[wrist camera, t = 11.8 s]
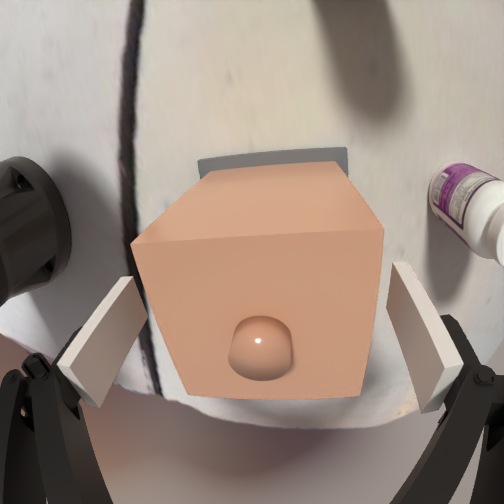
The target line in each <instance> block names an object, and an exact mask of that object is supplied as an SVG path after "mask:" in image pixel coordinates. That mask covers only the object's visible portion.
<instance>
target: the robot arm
mask: <svg viewBox="0 0 504 504" xmlns="http://www.w3.org/2000/svg"><path fill="white" fill-rule="evenodd" d="M70 250H71V233H70V226H69V221H68V216H67V213H66V209H65V206H64V204H63V201H62V199H61V196H60V194H59V192H58V190H57V188H56V186H55V185H54V183H53V182H52V180H51V179H50V177H49V176H48V175H47V173H46V172H45V171H44V170H43V169H42V168H41V167H40V166H39V165H38V164H36V163H35V162H33V161H32V160H30V159H28V158H25V157H12V158H9V159H7V160H4V161H2V162H0V307H1V306H2V305H3V304H4V303H5V302H6V301H7V300H8V299H10V298H12V297H15V296H17V295H20V294H23V293H25V292H28V291H31V290H33V289H36V288H39V287H41V286H44V285H46V284H48V283H49V282H51V281H52V280H53V279H54V278H55V277H56V276H57V275H58V274H59V273H61V272H62V270H63V269H64V268H65V266H66V264H67V262H68V259H69V256H70ZM386 309H387V311H388V314H389V317H390V319H391V322H392V325H393V327H394V330H395V333H396V335H397V338H398V341H399V344H400V347H401V350H402V352H403V355H404V358H405V361H406V364H407V367H408V370H409V374H410V377H411V380H412V383H413V386H414V390H415V393H416V396H417V400H418V403H419V407H420V410H421V414H423V413H428V412H432V411H436V410H439V408H440V407H441V405H442V403H443V402H444V404H445V406H446V411H445V413H444V414H443V416H442V417H441V419H440V420H439V422H438V423H439V424H438V426H437V428H436V431H435V432H434V434H433V436H432V438H431V440H430V441H429V444H428V445H427V447H426V449H425V451H424V452H423V454H422V455H421V457H420V459H419V461H418V462H417V464H416V465H415V467H414V469H413V470H412V472H411V473H410V475H409V476H408V478H407V480H406V481H405V483H404V484H403V485H402V487H401V488H400V490H399V491H398V493H397V494H396V495H395V497H394V498H393V500H392V501H391V502H390V504H448V503H449V501H450V500H451V498H452V496H453V494H454V492H455V491H456V488H457V487H458V485H459V483H460V481H461V479H462V477H463V474H464V473H465V471H466V468H467V466H468V464H469V462H470V460H471V457H472V455H473V453H474V450H475V448H476V445H477V443H478V441H479V438H480V435H481V433H482V430H483V427H484V434H483V441H482V449H481V455H480V460H479V466H478V471H477V475H476V480H475V485H474V488H473V492H472V496H471V500H470V504H504V375H496V374H495V372H494V371H493V370H492V369H491V368H489V367H488V366H485V365H481V364H480V362H479V360H478V358H477V356H476V354H475V352H474V350H473V348H472V346H471V344H470V343H469V341H468V339H466V338H467V337H466V335H465V333H464V332H463V330H462V328H461V326H460V325H459V323H458V321H457V320H455V319H454V318H453V317H452V316H451V315H449V314H448V315H442V316H439V314H438V312H437V311H436V309H435V307H434V305H433V304H432V302H431V300H430V298H429V297H428V295H427V293H426V291H425V290H424V288H423V286H422V285H421V283H420V281H419V280H418V278H417V276H416V275H415V273H414V272H413V270H412V268H411V267H410V265H409V264H408V262H407V261H402V262H393V263H392V271H391V279H390V286H389V293H388V300H387V306H386ZM147 318H148V315H147V313H146V310H145V308H144V305H143V302H142V300H141V297H140V295H139V292H138V289H137V286H136V284H135V281H134V278H133V276H130V277H121V278H120V279H119V280H118V282H117V283H116V284H115V285H114V287H113V288H112V289H111V290H110V292H109V293H108V294H107V296H106V297H105V298H104V299H103V301H102V302H101V303H100V305H99V306H98V307H97V309H96V310H95V311H94V313H93V314H92V315H91V317H90V318H89V319H88V321H87V322H86V323H85V325H84V326H82V327H80V328H79V329H78V330H77V331H75V332H74V333H73V335H72V336H71V338H70V339H69V341H68V342H67V343H66V344H65V347H63V349H62V350H61V352H60V353H59V354H58V356H57V357H56V359H55V360H54V362H53V363H52V365H50V364H49V363H48V361H47V360H46V358H45V357H44V355H43V354H41V353H34V354H31V355H30V356H28V357H27V358H26V359H25V360H24V362H23V363H22V367H21V368H22V369H23V371H24V372H25V373H26V375H27V376H28V377H24V376H23V374H22V373H21V372H20V371H19V370H18V369H14V370H11V371H9V372H8V373H7V374H6V375H5V376H4V378H3V380H2V383H1V387H0V504H46V497H47V501H48V504H113V502H112V500H111V498H110V495H109V492H108V490H107V487H106V485H105V482H104V479H103V477H102V474H101V471H100V469H99V466H98V463H97V460H96V457H95V454H94V451H93V448H92V444H91V441H90V437H89V434H88V431H87V427H86V423H85V419H84V415H83V412H82V408H81V406H80V404H79V403H78V402H79V400H80V398H82V399H83V401H84V402H85V403H86V404H87V405H88V406H92V407H96V408H100V407H101V405H102V403H103V401H104V399H105V397H106V395H107V393H108V391H109V389H110V387H111V385H112V383H113V381H114V379H115V377H116V375H117V373H118V371H119V370H120V368H121V366H122V364H123V362H124V360H125V358H126V356H127V354H128V353H129V351H130V349H131V347H132V345H133V343H134V341H135V340H136V338H137V336H138V334H139V332H140V330H141V329H142V327H143V325H144V323H145V321H146V320H147ZM21 408H22V409H23V411H24V412H25V416H22V415H21Z"/></svg>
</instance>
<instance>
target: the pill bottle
mask: <svg viewBox="0 0 504 504" xmlns="http://www.w3.org/2000/svg"><path fill="white" fill-rule="evenodd" d="M429 202H430V206H431V208H432V210H433V212H434V214H435V215H436V216H437V217H438V218H439V219H440V220H441V221H442V222H443V223H444V224H445V225H446V226H448V227H449V228H450V229H451V230H452V231H453V232H454V233H455V234H456V235H457V236H458V237H459V238H460V239H461V240H462V241H463V242H464V243H465V244H466V245H467V246H468V247H469V248H470V249H471V250H472V251H473V252H474V253H475V254H477V255H478V256H480V257H483V258H486V259H495V260H496V261H497V262H498V263H499V264H500V265H501V266H502V267H504V181H502V180H500V179H498V178H496V177H494V176H492V175H490V174H488V173H486V172H484V171H481V170H479V169H477V168H475V167H473V166H471V165H468V164H465V163H463V162H449V163H447V164H445V165H443V166H442V167H440V168H439V170H438V171H437V172H436V173H435V174H434V176H433V178H432V180H431V183H430V188H429Z"/></svg>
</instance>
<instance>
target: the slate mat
mask: <svg viewBox="0 0 504 504" xmlns="http://www.w3.org/2000/svg"><path fill="white" fill-rule="evenodd" d="M325 161H335V162H336V163H337V164H338V165H339V167H340V168H341V169H342V171H343V172H344V173H345V174H346V176H347V177H348V158H347V148H346V147H335V148H312V149H296V150H282V151H270V152H259V153H249V154H240V155H231V156H223V157H215V158H207V159H200V160H198V161H197V162H198V168H199V174H200V179H202V178H203V177H204V176H205V175H206V174H208V173H209V172H210V171H216V170H225V169H234V168H243V167H254V166H265V165H277V164H290V163H306V162H325Z"/></svg>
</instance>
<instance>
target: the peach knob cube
mask: <svg viewBox="0 0 504 504" xmlns="http://www.w3.org/2000/svg"><path fill="white" fill-rule="evenodd" d="M383 239H384V228H383V226H382V225H381V223H380V222H379V220H378V219H377V217H376V216H375V214H374V213H373V212H372V210H371V209H370V207H369V206H368V204H367V203H366V202H365V200H364V199H363V197H362V196H361V195H360V193H359V192H358V191H357V189H356V188H355V186H354V185H353V184H352V182H351V181H350V180H349V178H348V177H347V176H346V174H345V173H344V172H343V171H342V169H341V168H340V167H339V165H338V164H337V163H336V162H335V161H325V162H306V163H290V164H277V165H265V166H254V167H243V168H234V169H225V170H216V171H210V172H209V173H208V174H206V175H205V176H204V177H203V178H202V179H201V180H199V181H198V182H197V183H196V184H195V185H194V186H193V187H191V188H190V189H189V190H188V191H187V192H186V193H185V194H183V195H182V196H181V197H180V198H179V199H178V200H177V201H176V202H174V203H173V204H172V205H171V206H170V207H169V208H168V209H167V210H166V211H165V212H164V213H162V214H161V215H160V216H159V217H158V218H157V219H156V220H155V221H154V222H153V223H152V224H151V225H150V226H149V227H148V228H146V229H145V230H144V231H143V232H142V233H141V234H140V235H139V236H138V237H137V238H136V239H135V240H134V241H133V242H132V243H131V244H130V245H131V248H132V252H133V255H134V258H135V261H136V264H137V267H138V271H139V274H140V277H141V280H142V283H143V285H144V288H145V291H146V294H147V297H148V300H149V303H150V305H151V308H152V311H153V313H154V316H155V319H156V321H157V324H158V327H159V329H160V332H161V334H162V337H163V339H164V342H165V344H166V347H167V349H168V351H169V354H170V356H171V359H172V361H173V363H174V366H175V368H176V370H177V372H178V375H179V377H180V379H181V381H182V384H183V386H184V388H185V390H186V392H187V394H188V395H192V396H203V397H216V398H232V399H257V400H299V399H325V398H340V397H353V396H360V393H361V388H362V384H363V379H364V375H365V370H366V365H367V360H368V355H369V350H370V344H371V339H372V333H373V327H374V320H375V314H376V307H377V299H378V291H379V283H380V274H381V263H382V252H383Z"/></svg>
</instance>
